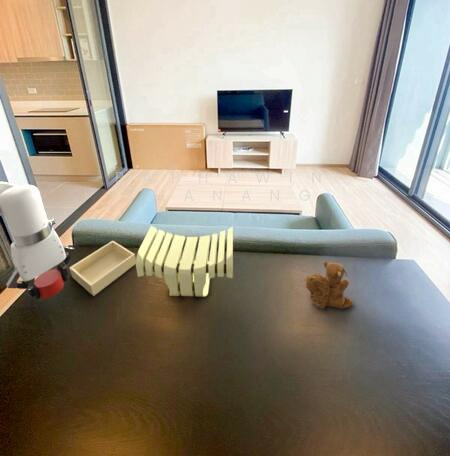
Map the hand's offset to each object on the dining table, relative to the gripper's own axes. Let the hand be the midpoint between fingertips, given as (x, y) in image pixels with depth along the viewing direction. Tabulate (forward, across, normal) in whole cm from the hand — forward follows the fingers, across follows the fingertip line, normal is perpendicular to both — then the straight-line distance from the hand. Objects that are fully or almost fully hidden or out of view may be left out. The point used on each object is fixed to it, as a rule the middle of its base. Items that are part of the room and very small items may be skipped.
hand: (50, 286), depth 67 cm
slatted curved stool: (+16, -33, +21) cm, 42 cm away
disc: (+1, 0, 0) cm, 1 cm away
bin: (+16, -19, -10) cm, 27 cm away
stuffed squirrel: (+16, -53, +62) cm, 83 cm away
